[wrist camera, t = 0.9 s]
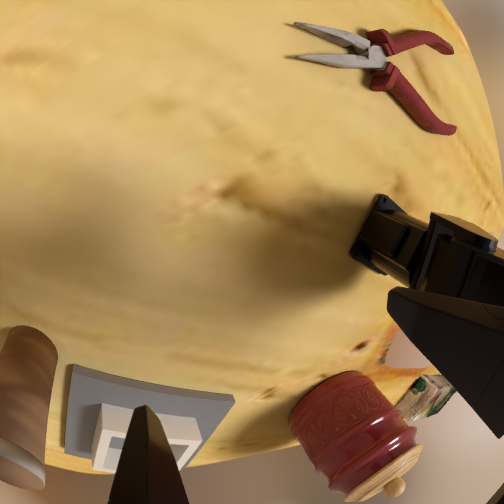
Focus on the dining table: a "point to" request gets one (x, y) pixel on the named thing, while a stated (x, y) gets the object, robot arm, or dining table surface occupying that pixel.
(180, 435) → the docking plate
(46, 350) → the brown upright cylinder
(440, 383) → the juice carton
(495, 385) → the robot arm
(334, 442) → the canister
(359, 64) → the pliers
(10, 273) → the dining table surface
